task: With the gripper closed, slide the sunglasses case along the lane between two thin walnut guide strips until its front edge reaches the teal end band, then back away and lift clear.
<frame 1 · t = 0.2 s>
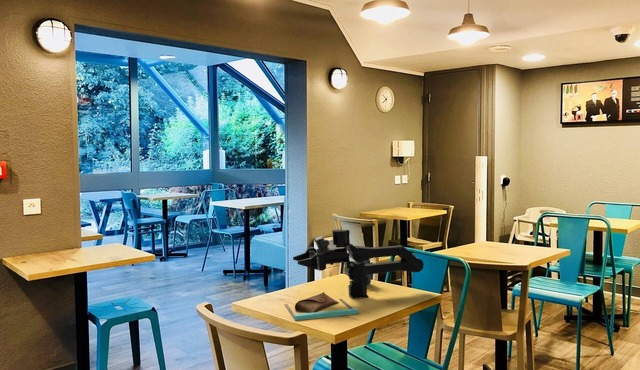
hand: (295, 260, 208), 16 cm above the table, tool horizontal, fingers open, 9 cm apart
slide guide: (319, 309, 199), on the table
sunglasses case: (317, 308, 203), on the table
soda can: (363, 285, 234), on the table
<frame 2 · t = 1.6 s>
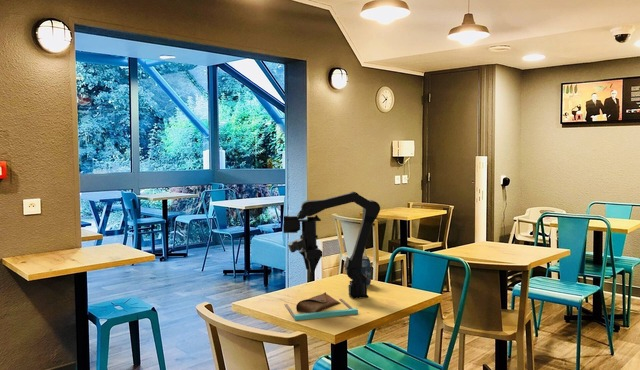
hand: (309, 271, 213), 11 cm above the table, tool pointing down, fingers open, 8 cm apart
nothing on the table moved.
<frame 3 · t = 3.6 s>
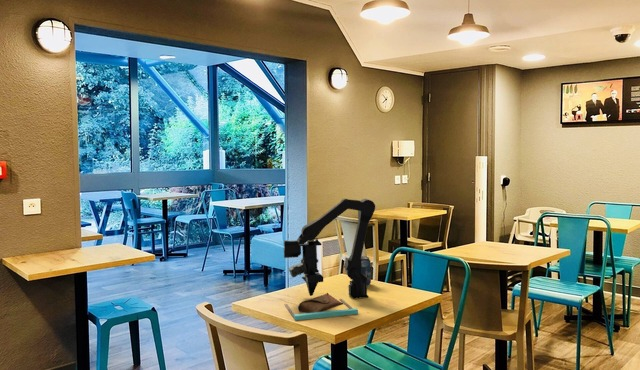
hand: (311, 295, 213), 1 cm above the table, tool pointing down, fingers closed
sunglasses case: (321, 308, 201), on the table
everything else where it was.
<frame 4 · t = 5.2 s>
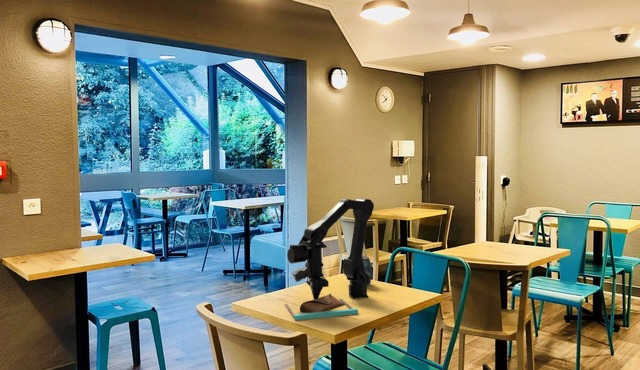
hand: (315, 300, 205), 2 cm above the table, tool pointing down, fingers closed
sunglasses case: (323, 309, 201), on the table
everything else where it was.
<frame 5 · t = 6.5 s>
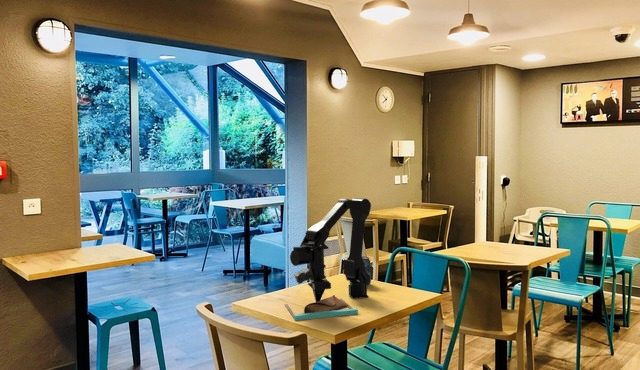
hand: (317, 302, 202), 2 cm above the table, tool pointing down, fingers closed
sunglasses case: (327, 311, 198), on the table
everything else where it was.
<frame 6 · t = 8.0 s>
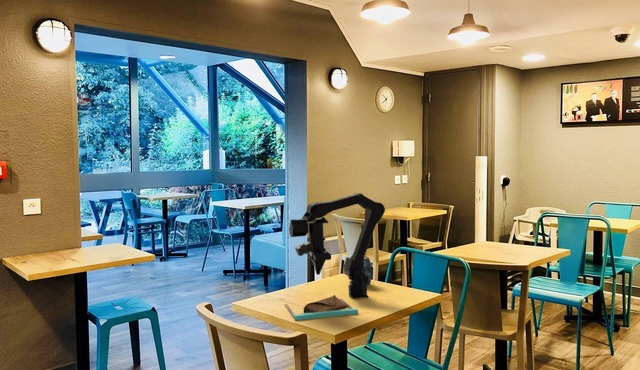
hand: (318, 274, 210), 10 cm above the table, tool pointing down, fingers closed
nothing on the table moved.
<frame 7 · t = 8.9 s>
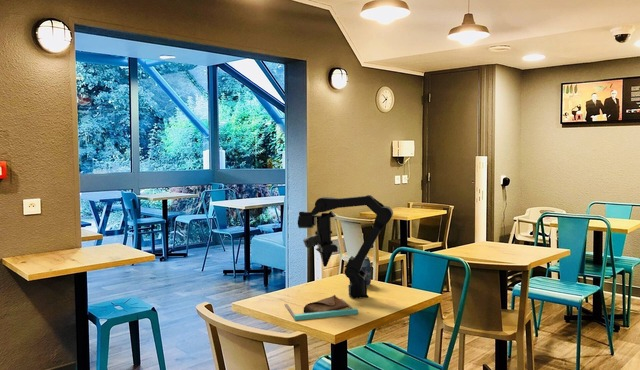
hand: (324, 266, 217), 12 cm above the table, tool pointing down, fingers closed
nothing on the table moved.
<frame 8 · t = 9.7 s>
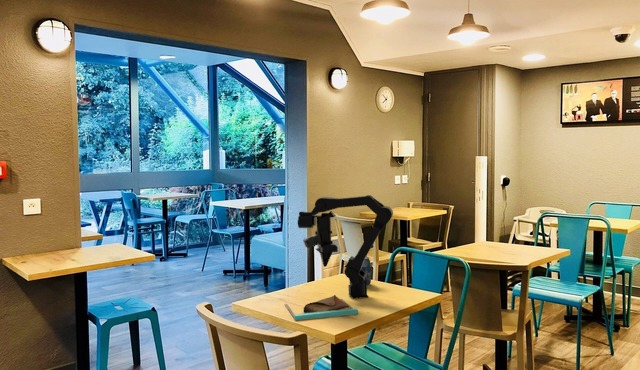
hand: (324, 266, 217), 12 cm above the table, tool pointing down, fingers closed
nothing on the table moved.
at the end: sunglasses case 3.1 cm from the target spot, on the table; sunglasses case moved 6.3 cm from its start; sunglasses case tilted 0° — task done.
